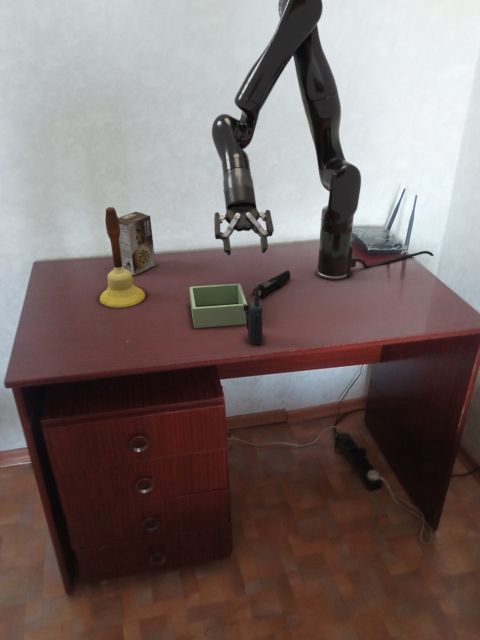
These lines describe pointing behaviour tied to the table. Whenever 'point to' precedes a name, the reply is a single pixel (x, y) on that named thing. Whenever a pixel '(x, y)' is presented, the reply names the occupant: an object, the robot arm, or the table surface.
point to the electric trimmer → (272, 283)
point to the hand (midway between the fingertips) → (246, 252)
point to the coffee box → (136, 242)
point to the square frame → (217, 314)
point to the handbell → (118, 271)
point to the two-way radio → (254, 319)
